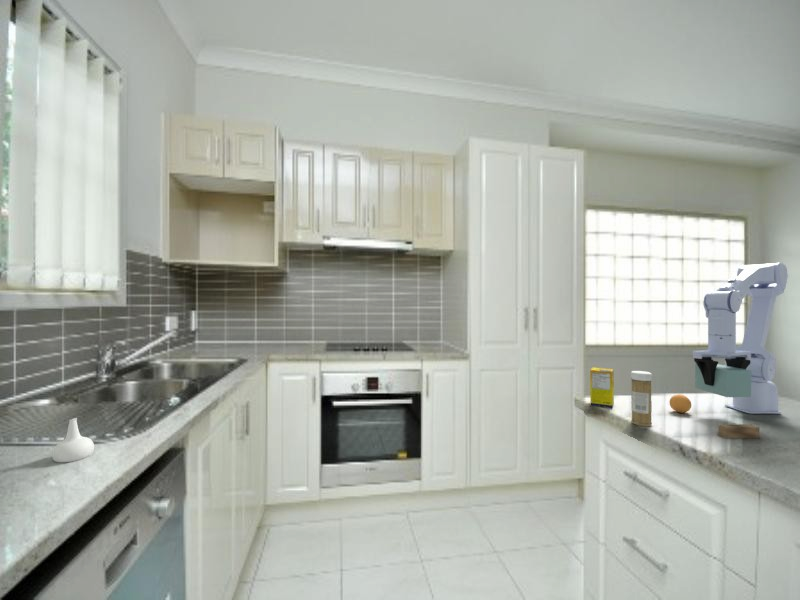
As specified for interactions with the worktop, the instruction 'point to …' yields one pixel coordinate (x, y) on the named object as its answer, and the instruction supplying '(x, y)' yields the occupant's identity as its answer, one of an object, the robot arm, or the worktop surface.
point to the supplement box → (602, 387)
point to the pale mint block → (726, 381)
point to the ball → (680, 403)
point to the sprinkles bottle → (641, 398)
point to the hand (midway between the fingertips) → (721, 385)
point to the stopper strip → (738, 431)
